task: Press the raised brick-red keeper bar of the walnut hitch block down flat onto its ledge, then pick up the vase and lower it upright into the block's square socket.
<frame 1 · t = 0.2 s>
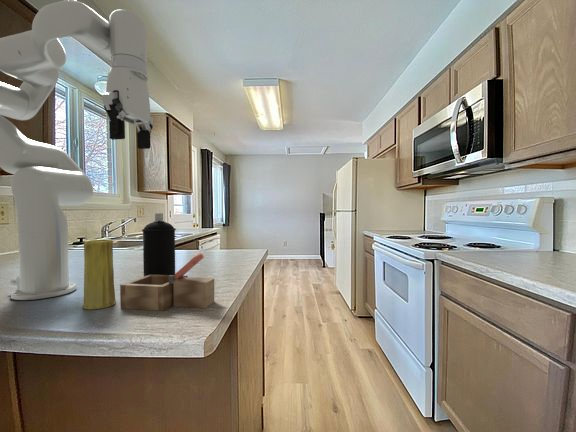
hand: (131, 144, 68), 36 cm above the countertop, tool pointing down, fingers open, 9 cm apart
hitch block: (156, 301, 66), on the countertop
aerosol can: (159, 289, 77), on the countertop
vase: (99, 306, 64), on the countertop
keeper bar: (188, 266, 64), point 8 cm above the countertop, hinge at 40.0°
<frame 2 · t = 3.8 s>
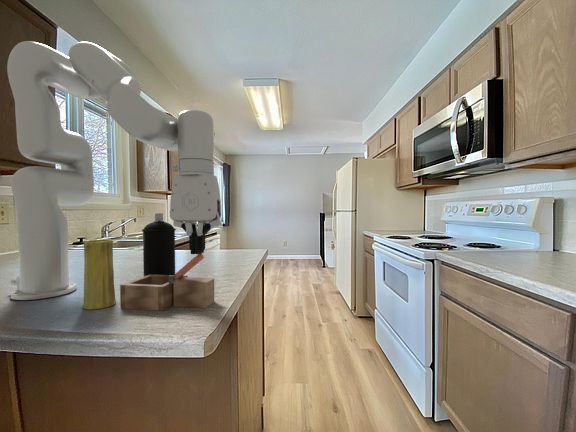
hand: (197, 253, 64), 11 cm above the countertop, tool pointing down, fingers closed
keeper bar: (188, 267, 64), point 8 cm above the countertop, hinge at 39.4°, touching gripper
everything else where it was.
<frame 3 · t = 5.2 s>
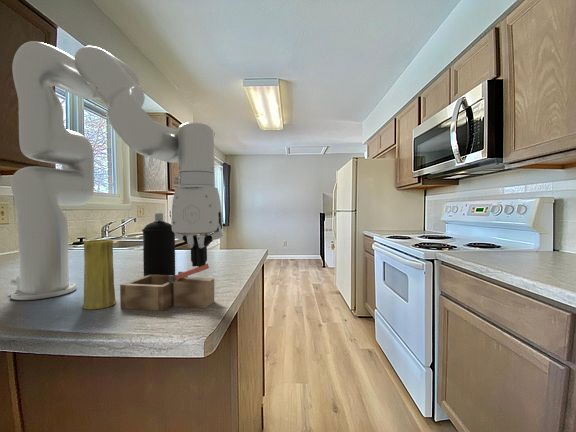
hand: (199, 265, 64), 9 cm above the countertop, tool pointing down, fingers closed
keeper bar: (191, 272, 64), point 7 cm above the countertop, hinge at 20.1°, touching gripper
everything else where it was.
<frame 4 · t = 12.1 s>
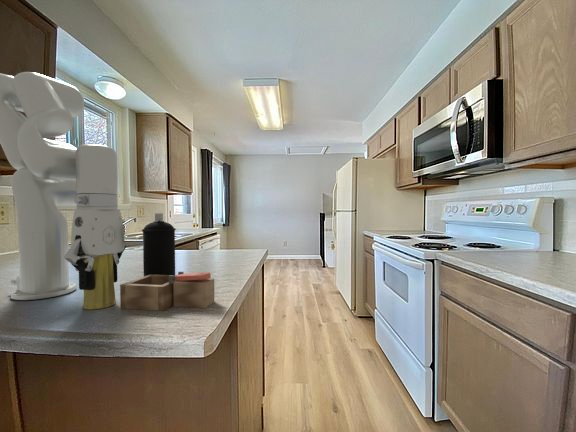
hand: (99, 284, 64), 5 cm above the countertop, tool pointing down, fingers closed on vase, 5 cm apart
vase: (99, 306, 64), on the countertop, touching gripper
keeper bar: (192, 276, 64), point 6 cm above the countertop, hinge at 4.3°
everything else where it was.
when the fingers open (6 cm above the countertop, at t = 18.9 s): vase drops 2 cm, resting in hitch block.
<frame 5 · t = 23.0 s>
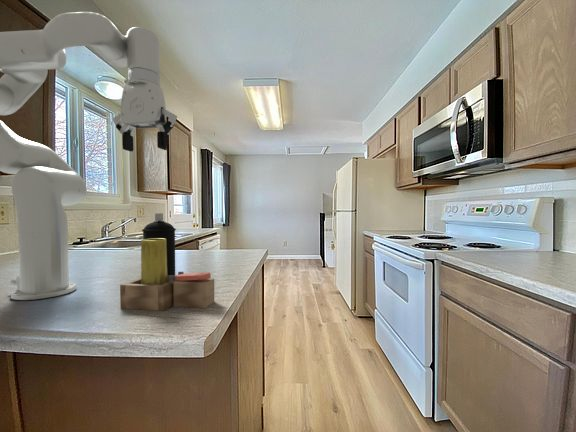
hand: (145, 149, 74), 36 cm above the countertop, tool pointing down, fingers open, 9 cm apart
vase: (154, 302, 66), resting in hitch block
everything else where it was.
at the end: vase 0.3 cm off-centre on the hitch block, point 0.0 cm above the hitch block's base; vase tilted 0°; keeper bar at +4° (first picture: +40°) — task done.
